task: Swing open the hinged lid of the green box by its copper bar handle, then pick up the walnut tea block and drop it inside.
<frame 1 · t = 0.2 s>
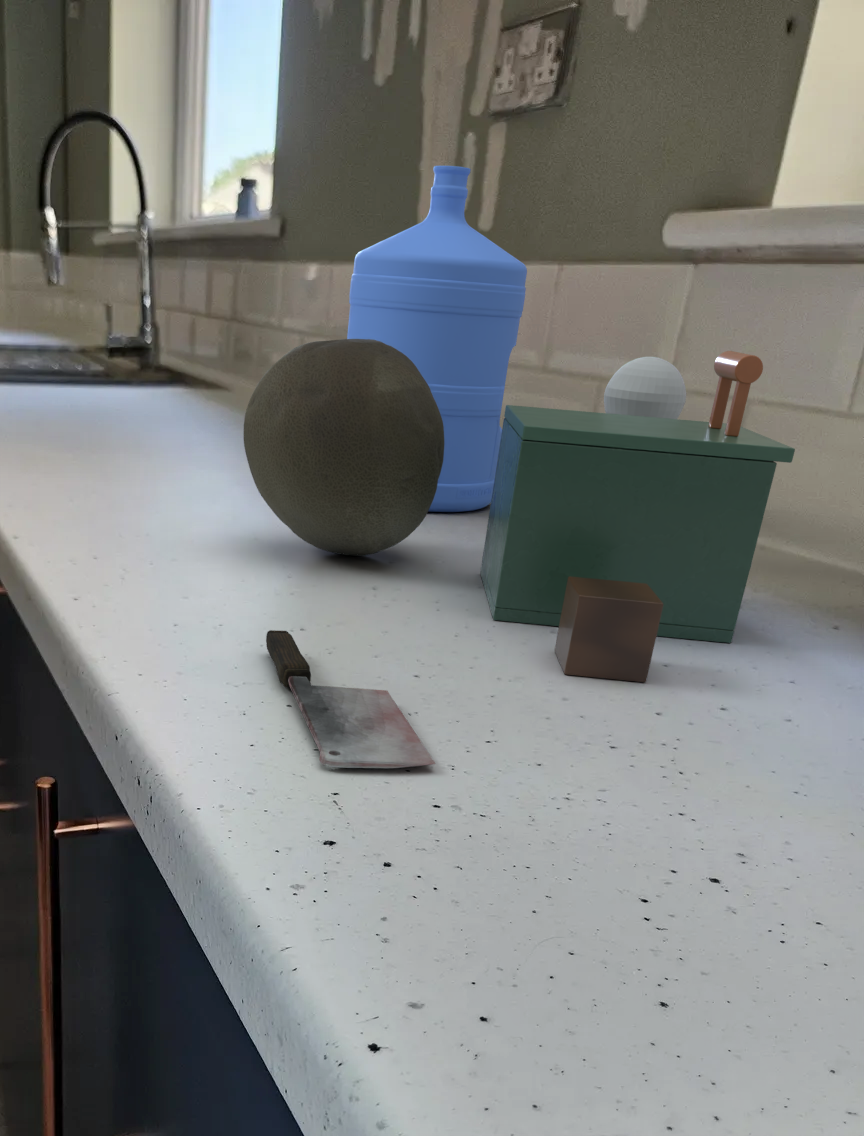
water jug: (411, 499, 109), on the counter
cleaver: (337, 706, 54), on the counter
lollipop: (612, 558, 91), on the counter
tea block: (598, 666, 63), on the counter
cantaloupe: (334, 557, 84), on the counter
green box: (595, 605, 75), on the counter
lid: (644, 392, 70), point 14 cm above the counter, hinge at 0.0°
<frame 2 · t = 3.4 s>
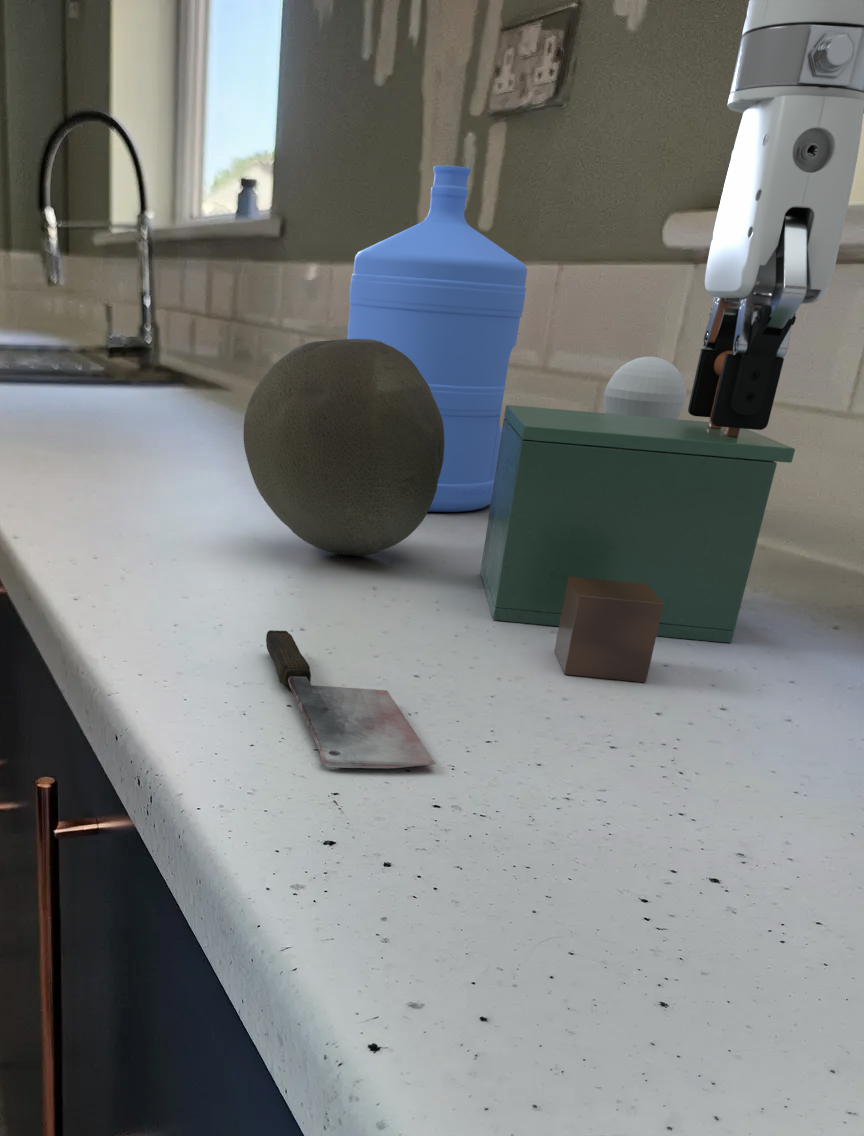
hand: (725, 418, 70), 12 cm above the counter, tool pointing down, fingers closed on lid, 5 cm apart
lid: (644, 392, 70), point 14 cm above the counter, hinge at 0.0°, touching gripper
everything else where it was.
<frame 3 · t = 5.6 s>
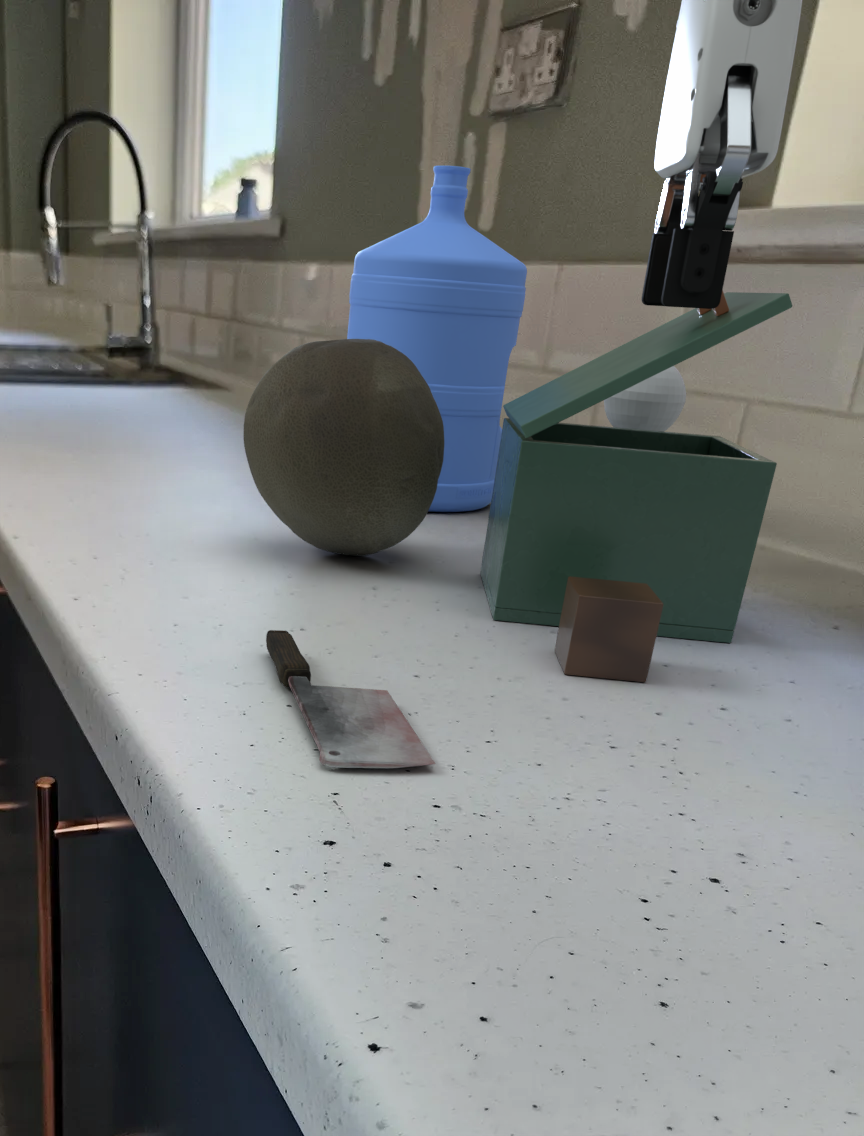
hand: (678, 303, 67), 19 cm above the counter, tool pointing down, fingers closed on lid, 5 cm apart
lid: (618, 325, 68), point 17 cm above the counter, hinge at 31.5°, touching gripper
everything else where it was.
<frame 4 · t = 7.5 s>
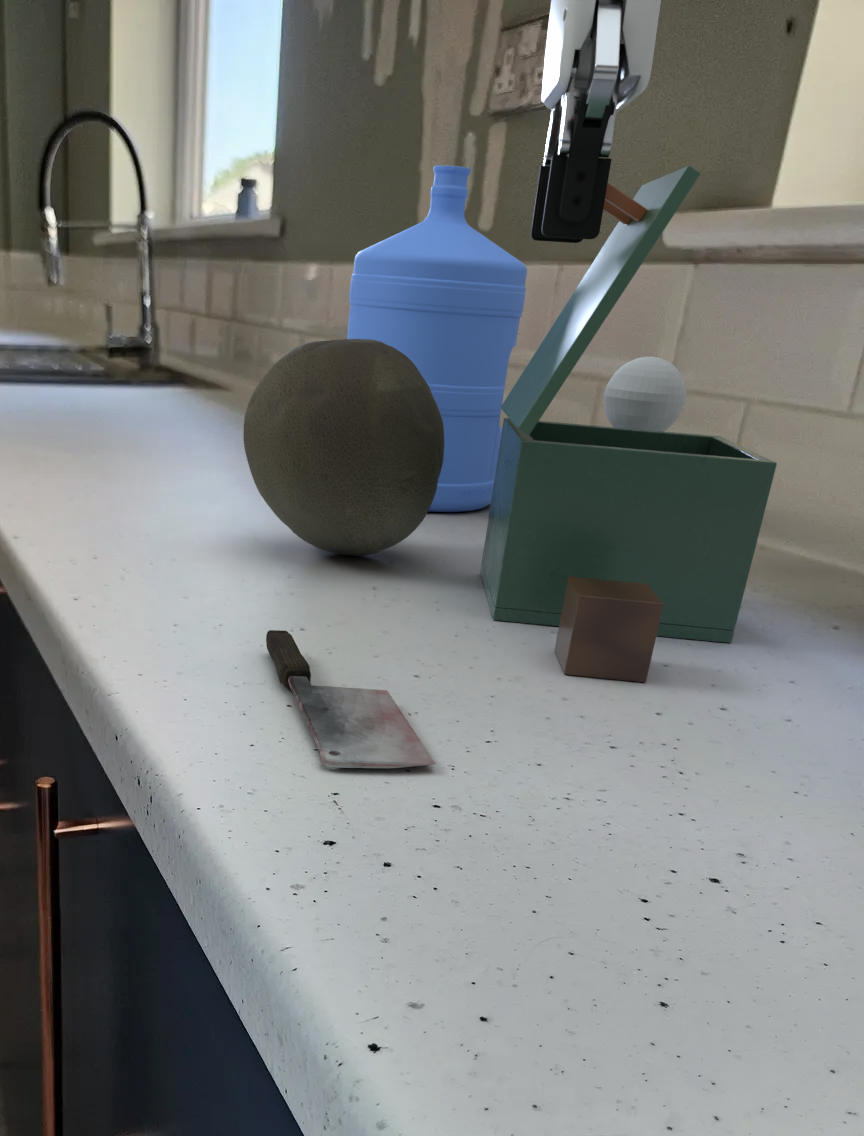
hand: (563, 236, 67), 22 cm above the counter, tool pointing down, fingers closed on lid, 5 cm apart
lid: (556, 284, 68), point 19 cm above the counter, hinge at 64.3°, touching gripper
everything else where it was.
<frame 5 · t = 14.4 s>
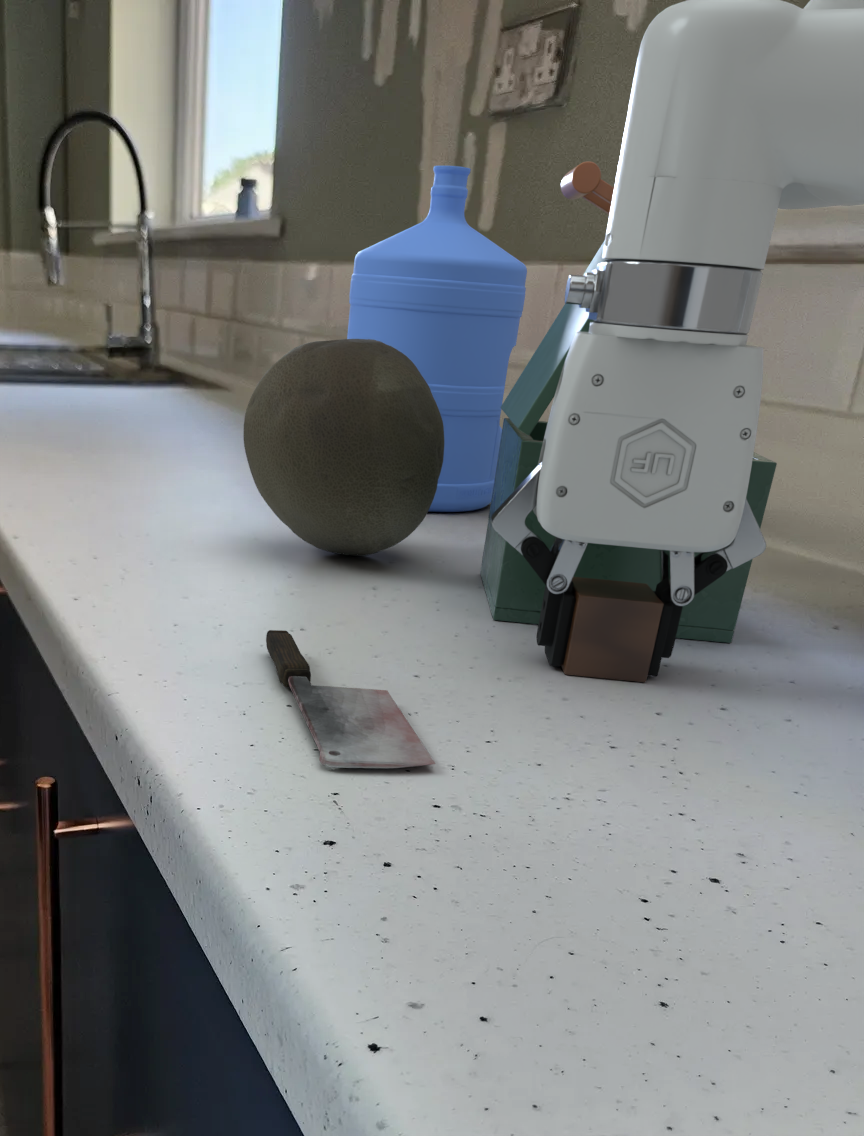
hand: (599, 660, 63), 0 cm above the counter, tool pointing down, fingers closed on tea block, 4 cm apart
tea block: (598, 666, 63), on the counter, touching gripper
lid: (554, 284, 68), point 19 cm above the counter, hinge at 64.9°
everything else where it was.
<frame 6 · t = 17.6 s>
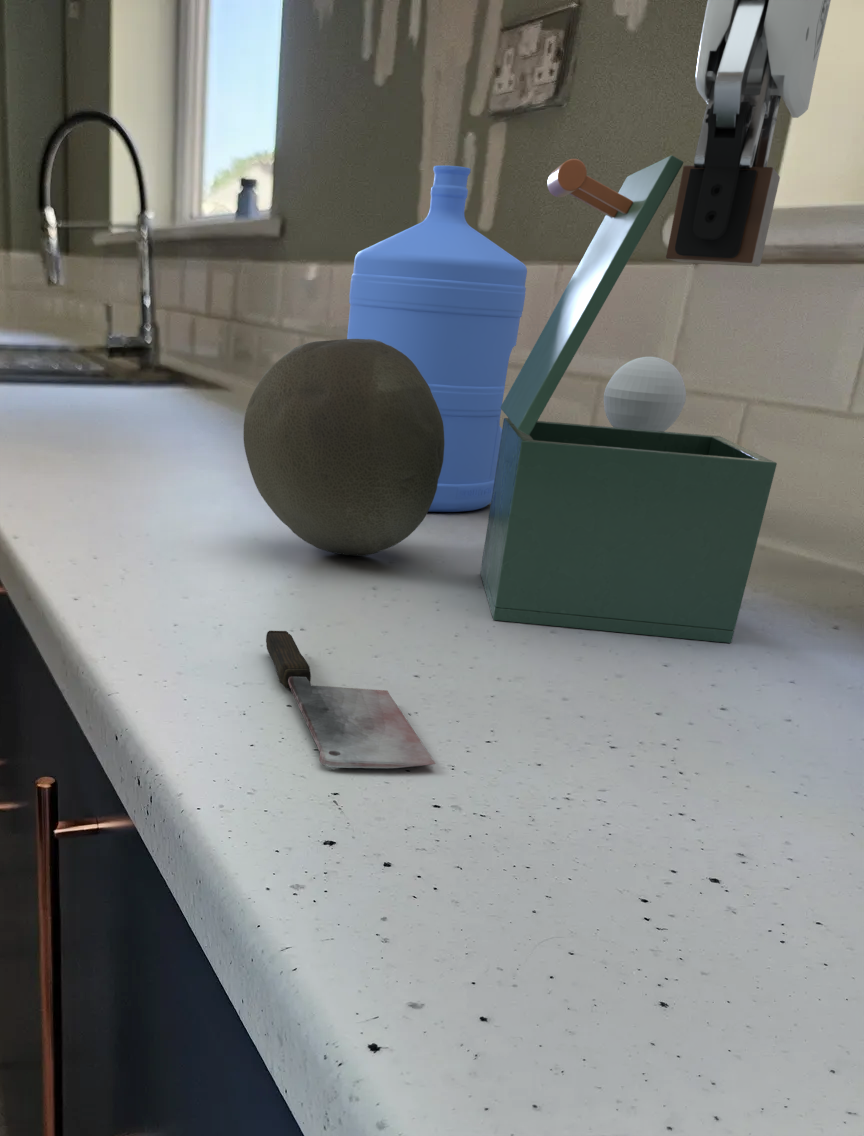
hand: (712, 254, 61), 21 cm above the counter, tool pointing down, fingers closed on tea block, 4 cm apart
tea block: (713, 262, 61), point 21 cm above the counter, touching gripper
lid: (546, 282, 68), point 19 cm above the counter, hinge at 68.3°
everything else where it was.
when the fingers open (11 cm above the counter, at t = 20.9 s): tea block drops 10 cm, resting on green box.
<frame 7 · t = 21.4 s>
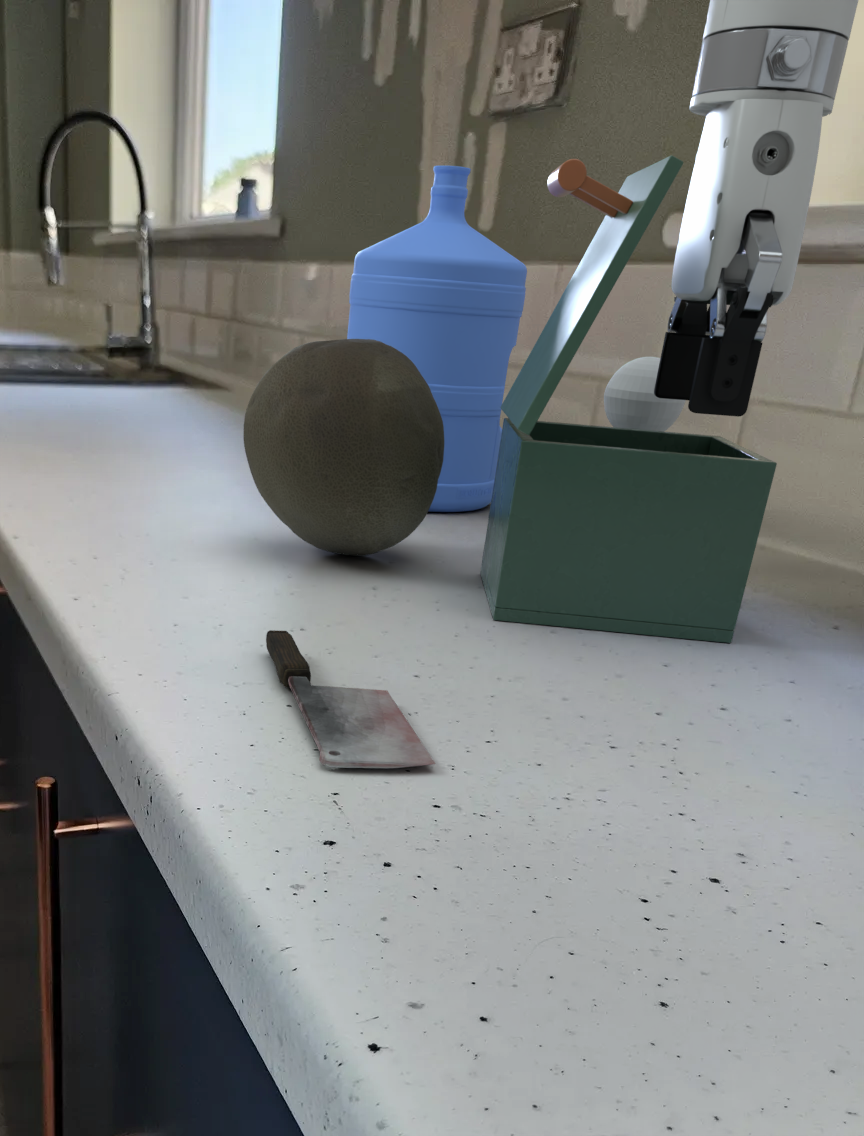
hand: (695, 406, 70), 13 cm above the counter, tool pointing down, fingers open, 9 cm apart
tea block: (653, 599, 75), point 1 cm above the counter, touching green box
everything else where it was.
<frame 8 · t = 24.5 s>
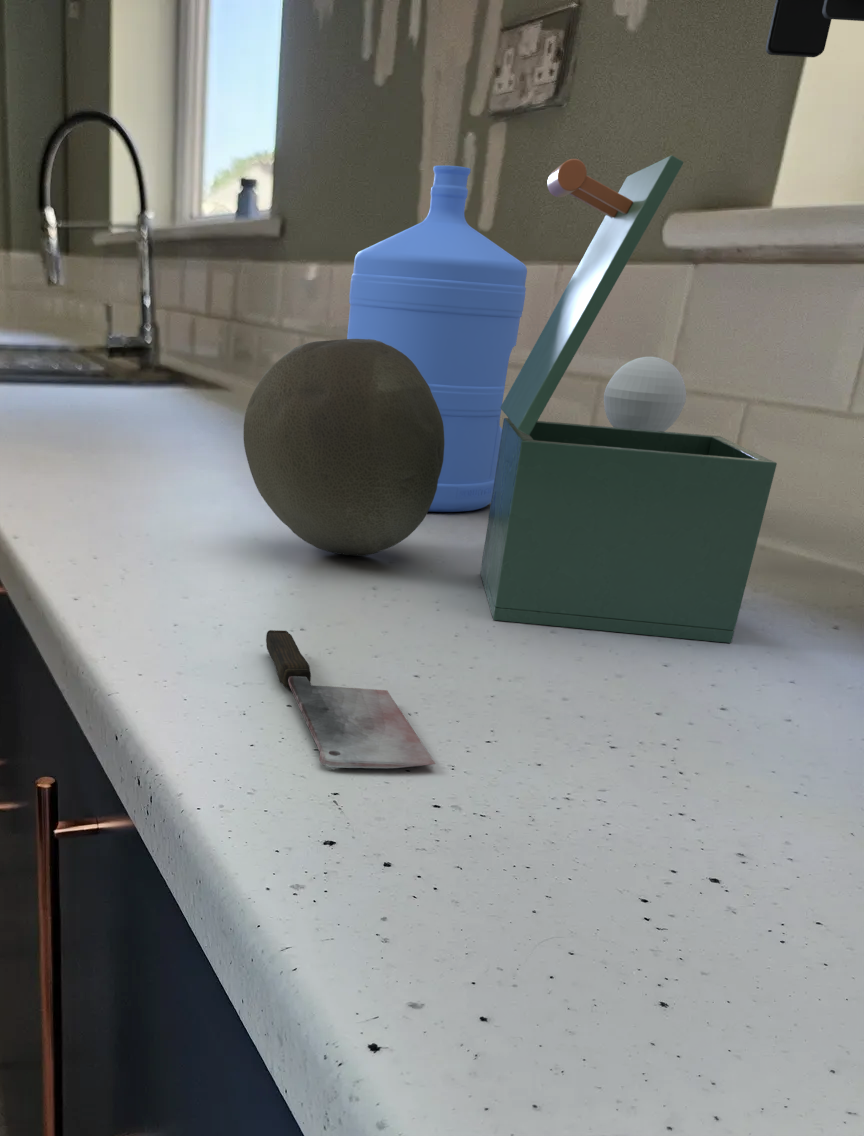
hand: (821, 38, 61), 32 cm above the counter, tool pointing down, fingers open, 9 cm apart
nothing on the counter moved.
at the end: lid at +68° (first picture: +0°); tea block inside the target area in the green box (3.7 cm from its centre), point 0.8 cm above the green box's base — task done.
